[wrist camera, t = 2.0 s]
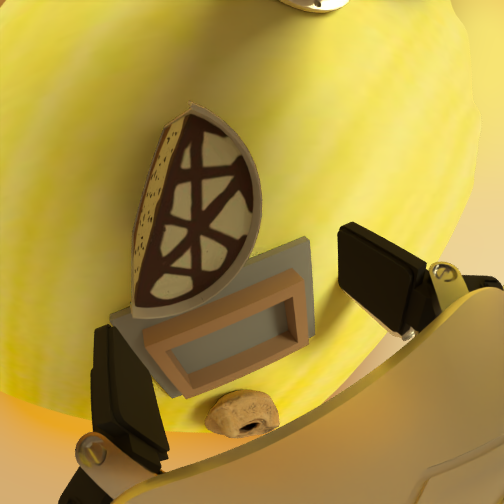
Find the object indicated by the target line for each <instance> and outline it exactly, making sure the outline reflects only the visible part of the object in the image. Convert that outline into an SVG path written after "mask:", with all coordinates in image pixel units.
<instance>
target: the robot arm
mask: <svg viewBox="0 0 504 504" xmlns="http://www.w3.org/2000/svg"><path fill="white" fill-rule="evenodd" d="M279 1H281V2H283V3H285V4H287V5H289V6H292V7H294V8H297V9H300V10H304V11H308V12H315V13H326V12H330V11H334V10H336V9H339V8H342V7H343V6H345V5H346V4H347V3H348V2H349V0H279ZM337 237H338V282H339V285H340V287H341V288H342V289H343V290H344V291H345V292H346V293H347V294H349V295H350V296H351V297H352V298H353V299H355V300H356V301H357V302H358V303H359V304H361V305H362V306H363V307H364V308H365V309H367V310H368V311H369V312H370V313H371V314H373V315H374V316H375V317H376V318H377V319H378V320H380V321H381V322H382V323H383V324H384V325H386V326H387V327H388V328H389V329H390V330H391V331H393V332H397V333H398V334H400V335H401V336H403V335H404V334H405V333H406V332H407V331H409V330H410V327H412V328H413V329H414V333H415V337H414V338H413V339H412V340H411V341H410V342H408V343H407V344H406V345H405V346H404V347H402V348H401V349H400V350H399V351H397V352H396V353H395V354H394V355H393V356H391V357H390V358H389V359H387V360H386V361H385V362H384V363H382V364H381V365H380V366H378V367H377V368H376V369H374V370H373V371H372V372H370V373H369V374H367V375H366V376H365V377H363V378H362V379H360V380H359V381H357V382H356V383H354V384H353V385H352V386H350V387H349V388H347V389H346V390H344V391H342V392H341V393H339V394H338V395H336V396H335V397H333V398H331V399H330V400H328V401H327V402H325V403H323V404H322V405H320V406H318V407H317V408H315V409H313V410H311V411H310V412H308V413H306V414H304V415H303V416H301V417H299V418H297V419H295V420H293V421H291V422H290V423H288V424H286V425H284V426H282V427H280V428H278V429H276V430H274V431H272V432H270V433H268V434H266V435H263V436H261V437H259V438H257V439H255V440H252V441H250V442H248V443H246V444H243V445H241V446H239V447H236V448H234V449H231V450H229V451H227V452H224V453H221V454H218V455H216V456H213V457H211V458H208V459H205V460H202V461H200V462H196V463H194V464H191V465H187V466H184V467H181V468H178V469H175V470H172V471H169V472H164V471H163V470H161V463H160V461H163V460H166V459H168V455H167V451H169V450H170V449H169V444H168V441H167V437H166V435H165V431H164V427H163V423H162V420H161V416H160V412H159V408H158V404H157V400H156V396H155V392H154V387H153V383H152V378H151V375H150V372H149V370H148V369H147V368H146V366H145V365H144V364H143V363H142V361H141V360H140V359H139V357H138V356H137V355H136V354H135V352H134V351H133V350H132V348H131V347H130V346H129V344H128V343H127V341H126V340H125V339H124V337H123V336H122V335H121V333H120V332H119V330H118V329H117V328H116V327H115V326H113V327H111V326H110V325H109V324H107V325H105V326H102V327H100V328H97V329H95V332H94V356H93V368H92V370H91V411H92V425H93V432H90V433H87V434H85V435H83V436H82V437H81V438H80V439H79V441H78V443H77V445H76V449H75V457H76V460H77V462H78V464H79V465H80V467H79V468H78V470H77V471H76V473H75V474H74V476H73V477H72V479H71V481H70V482H69V484H68V485H67V487H66V489H65V490H64V492H63V493H62V495H61V496H60V499H59V501H58V504H504V285H503V286H502V285H501V283H500V282H499V281H498V280H497V279H496V278H494V277H491V276H475V275H461V273H460V271H459V270H458V268H456V267H455V266H454V265H452V264H450V263H447V262H435V263H433V264H432V265H431V266H430V268H429V271H428V270H427V269H426V265H427V263H426V262H425V261H423V260H421V259H419V258H418V257H416V256H414V255H413V254H411V253H409V252H408V251H406V250H404V249H402V248H401V247H399V246H397V245H395V244H394V243H392V242H390V241H388V240H386V239H385V238H383V237H381V236H379V235H377V234H375V233H374V232H372V231H370V230H368V229H366V228H364V227H362V226H360V225H359V224H357V223H355V222H350V223H348V224H345V225H343V226H341V227H340V229H339V232H338V234H337Z"/></svg>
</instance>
